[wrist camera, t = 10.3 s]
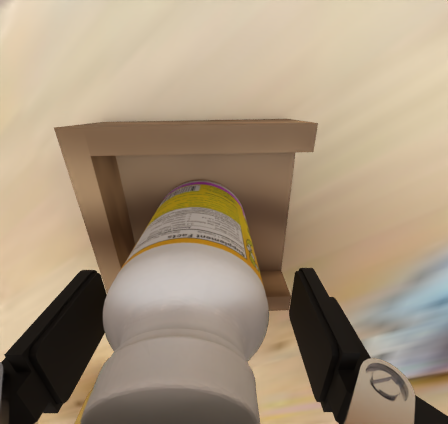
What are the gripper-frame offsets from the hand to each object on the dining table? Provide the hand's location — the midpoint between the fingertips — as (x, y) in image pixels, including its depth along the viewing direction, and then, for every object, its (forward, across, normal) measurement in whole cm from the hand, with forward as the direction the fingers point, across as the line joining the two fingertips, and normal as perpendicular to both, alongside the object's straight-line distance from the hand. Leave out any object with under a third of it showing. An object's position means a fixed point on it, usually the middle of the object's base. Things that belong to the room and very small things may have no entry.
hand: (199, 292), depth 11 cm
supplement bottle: (+8, 0, 0) cm, 8 cm away
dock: (+10, +1, 0) cm, 10 cm away
